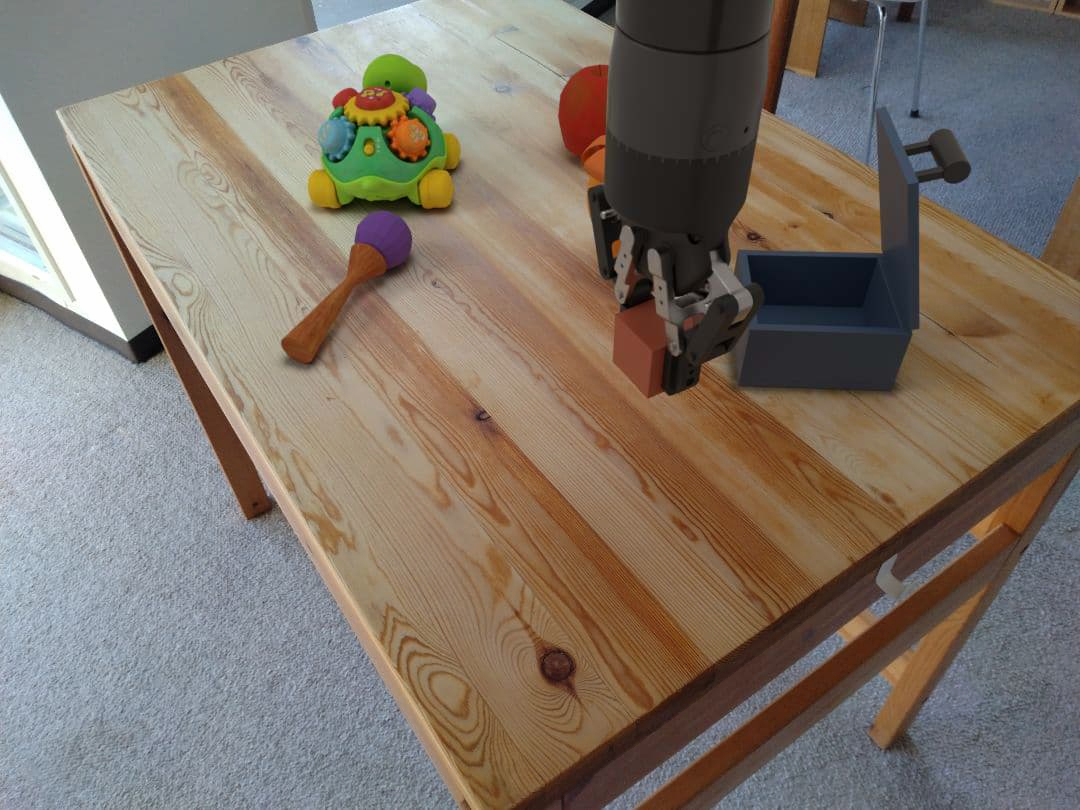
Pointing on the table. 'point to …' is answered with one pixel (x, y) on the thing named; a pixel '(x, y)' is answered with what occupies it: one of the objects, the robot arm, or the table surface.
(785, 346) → the dark blue box
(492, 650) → the table surface
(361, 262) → the purple toy maraca
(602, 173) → the toy figure
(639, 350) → the block
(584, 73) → the apple
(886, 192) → the lid
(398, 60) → the turtle toy
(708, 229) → the robot arm
